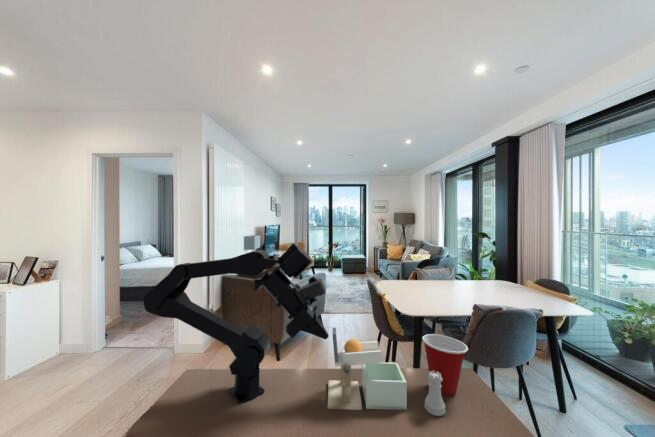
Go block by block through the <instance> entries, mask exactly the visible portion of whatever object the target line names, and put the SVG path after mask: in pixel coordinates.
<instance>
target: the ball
mask: <svg viewBox="0 0 655 437" xmlns="http://www.w3.org/2000/svg"><path fill="white" fill-rule="evenodd" d="M359 342H360V341H359V340H357V339H355V338H350V339H348V340H346V342H345V343H346V344H345V352H346V353H352V352H361V345H360V343H359Z"/></svg>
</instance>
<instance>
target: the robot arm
mask: <svg viewBox="0 0 655 437" xmlns="http://www.w3.org/2000/svg"><path fill="white" fill-rule="evenodd" d="M313 263H314V260H313V259H312V257H311V256H310V255H309V254H308V252H306V251H305V250H303V249H302V248H301V247H299V246H298V245H297V244H296V243H295V242H293V243H292V244H291V245H290V246H288V248H287V250H285V252H284V253H282V254H281V255H280V256H278V255H276V256H275V255H271V254H270V255H269V253H268V252H267V251H265V250H262V249H258V250H254V251H249V252H247V253H244V254H243V253H242V254H240V255H237V256H234V257H232V258H229V257H228V258H222V259H214V260H207V261H199V262H186V263H185V262H184V263H180V264H176V265H175V266H174V267H173V268H172V269H171V271H170V272H169V273H168V274H167V275H166V276H165V277H164V278H162V280H160V281H159V282H158V283H157V284H156V285H155V286H154V288H152V289H151V290H149V291H148V292H146V294H145V295H144V298H143V306H144V307H143V308H144V310H145V312H147V313H149V314H150V315H154V316H156V317H160V318H168V319H175V320H176V319H177V320H179V321H181V322H183V323H185V324H186V325H188V326H191V327H192V328H194V329H196V330H198V331H199V332H201V333H203V334H205V335H207V336H209V337H211V338H213V339H214V340H216V341H218V342H220V343H222V344H224V345H226V346H227V347H228V348H229V349H230V351H231V353H232V354H233V356H234V357H235V358H234V359H233V360H232V362H231V363H230V364H229V367H228V368H229V371H230V374H231V375H233V376H234V385H233V387H230V388H228V393H229V394H230V395H231V396H232V397H233V398H234V399H235V400H236V401H237V402H238V403H239V404H242V403H244V402H246V401H249V400H251V399H253V398H256V397H259V396H260V395H262V394H265V389H264V388H263V387H262V386H261V385H260V380H261V379H260V364H261V363H262V362H263V360H264V359H265V357H266V355H267V353H268V351H269V350H270V347H271V338H270V336H269V335H268V333H266V332H265V331H266V330H265V329H262V328H259V327H257V326H256V325H255V324H254V323H249V324H248V325H247V327H240V326H238V325H236V324H234V323H233V322H230V321H228V320H226V319H225V318H223V317H221V316H219V315H217V314H215V313H213V312H212V311H210V310H207V309H206V308H204V307H202V306H200V305H198V304H197V303H194V302H193V301H191V299H190V297H189V296H188V293H186V292H185V291H186V289H187V288H188V286H189V284H190V283H191V280H192V279H196V278H206V277H207V278H208V277H214V276H222V275H230V274H231V275H238V276H250V277H251V276H258V275H260V274H262V273H264V272H266V271H267V270H268V271H267V272H266V273H264V275H262V276H261V277H257V278H255V279H254V281H253V282H254V287H253V291H255V292H257V291H258V290H260V289H261V288H262V287H263V288H264V289H265V290H266V292H267V293H268V294H269V295H271V297H272V298H273V299H274V300H275V301H276V304H275V305H276V306H277V307H278V308H280V307H282V309H283V310H284V311H285V312H286V313H287V314H288V316H287V318H288V319H289V320H288V321H287V324H285V327H286V328H285V331H286V334H288V336H290V338H292V339H293V338H294V337H295V336H297V335H298V333H300V332H304V333H307V334H309V335H311V336H312V335H313V336H315V337H318V338H320V339H323V340H327V339H329V336H330V335H329V333H328V331H327V330H326V328H325V326H324V324H323V322H322V321H321V319H320V317H319V315H318V310H319V309H318V308H319V307H318V304H316V305H315V306H314V307H312V306H311V305H313V304H314V302H317V301H318V298H319V297H318V296H324V294H326V292H327V290H326V289H327V288H326V286H325V285H324V281H323V280H322V278H317V277H316V276H312V277H309V279H308V283H307V284H305V285H303V286H301V285H299V284H298V283H293V281H291V279H289V278H292V277H294V278H298V277H299V276H300V275H301V274H302V273H303V272H304V271H305V270H306V269H307V268H309V266H311V265H312V264H313ZM276 266H278V267H276ZM275 267H276V269H275V270H273V271H271V270H270V269H272V268H275Z"/></svg>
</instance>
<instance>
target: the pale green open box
mask: <svg viewBox="0 0 655 437" xmlns="http://www.w3.org/2000/svg"><path fill="white" fill-rule="evenodd" d="M407 384H408V382H407V380H406V378H405V376H404V374H403V372H402V369H401V368H400V366H399V364H398V362H384V361H383V363H374V364H361V387H362V394H363V399H364V403H365V404H364V405H365V409H367V410H368V409H370V410H398V411H407V408H408V407H407V404H408V403H407V400H408V399H407V398H408V397H407V396H408V394H407V393H408V391H407V388H408V387H407Z"/></svg>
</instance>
